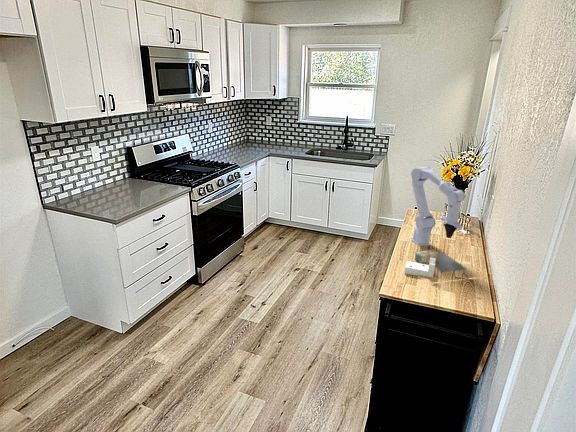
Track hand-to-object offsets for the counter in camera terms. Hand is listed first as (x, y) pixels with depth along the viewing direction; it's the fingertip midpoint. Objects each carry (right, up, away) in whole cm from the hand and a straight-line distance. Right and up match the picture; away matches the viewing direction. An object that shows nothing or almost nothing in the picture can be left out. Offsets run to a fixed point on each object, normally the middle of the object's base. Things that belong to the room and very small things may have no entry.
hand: (448, 237), depth 196 cm
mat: (-5, -13, -5) cm, 15 cm away
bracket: (-21, -17, -14) cm, 30 cm away
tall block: (-8, -9, -4) cm, 13 cm away
